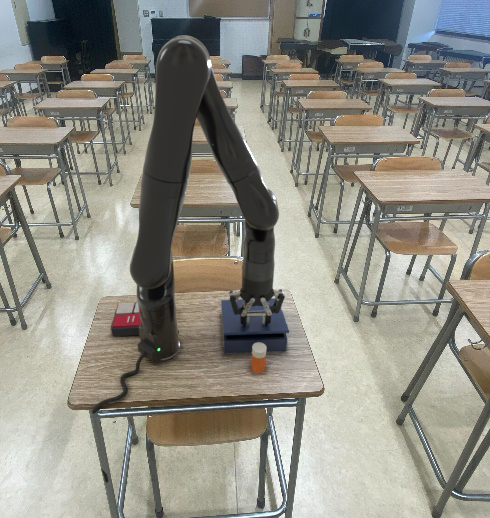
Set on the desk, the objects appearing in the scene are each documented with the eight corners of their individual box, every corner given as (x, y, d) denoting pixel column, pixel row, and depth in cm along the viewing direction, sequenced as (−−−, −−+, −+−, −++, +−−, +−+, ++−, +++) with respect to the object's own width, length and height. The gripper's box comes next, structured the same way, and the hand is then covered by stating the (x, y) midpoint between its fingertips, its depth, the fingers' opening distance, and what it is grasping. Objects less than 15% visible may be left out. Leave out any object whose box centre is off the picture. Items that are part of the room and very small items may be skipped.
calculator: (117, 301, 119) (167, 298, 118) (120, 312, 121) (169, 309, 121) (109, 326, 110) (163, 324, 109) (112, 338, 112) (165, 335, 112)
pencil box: (285, 353, 106) (287, 339, 103) (223, 355, 105) (223, 341, 102) (276, 314, 119) (277, 300, 116) (221, 316, 118) (221, 302, 115)
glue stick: (259, 377, 99) (261, 355, 95) (248, 370, 101) (249, 348, 97) (267, 368, 101) (269, 346, 97) (256, 362, 103) (257, 340, 99)
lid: (289, 333, 101) (290, 314, 99) (224, 335, 100) (223, 317, 98) (277, 300, 116) (278, 284, 113) (221, 302, 115) (221, 286, 113)
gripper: (228, 281, 90) (228, 335, 100) (291, 279, 91) (285, 333, 100) (226, 263, 97) (227, 315, 106) (285, 261, 97) (280, 313, 106)
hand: (255, 323), depth 103 cm, fingers closed on lid, 5 cm apart
